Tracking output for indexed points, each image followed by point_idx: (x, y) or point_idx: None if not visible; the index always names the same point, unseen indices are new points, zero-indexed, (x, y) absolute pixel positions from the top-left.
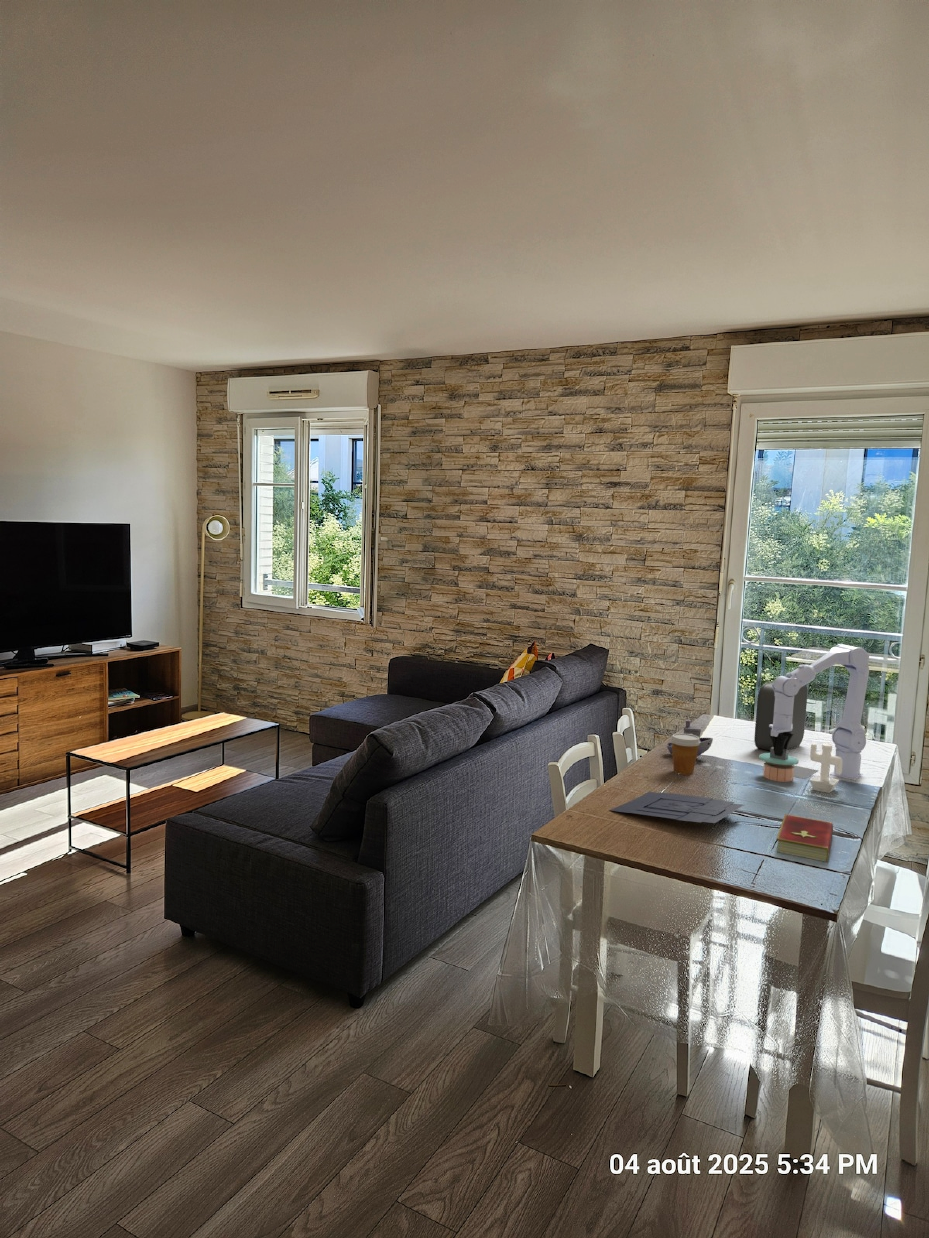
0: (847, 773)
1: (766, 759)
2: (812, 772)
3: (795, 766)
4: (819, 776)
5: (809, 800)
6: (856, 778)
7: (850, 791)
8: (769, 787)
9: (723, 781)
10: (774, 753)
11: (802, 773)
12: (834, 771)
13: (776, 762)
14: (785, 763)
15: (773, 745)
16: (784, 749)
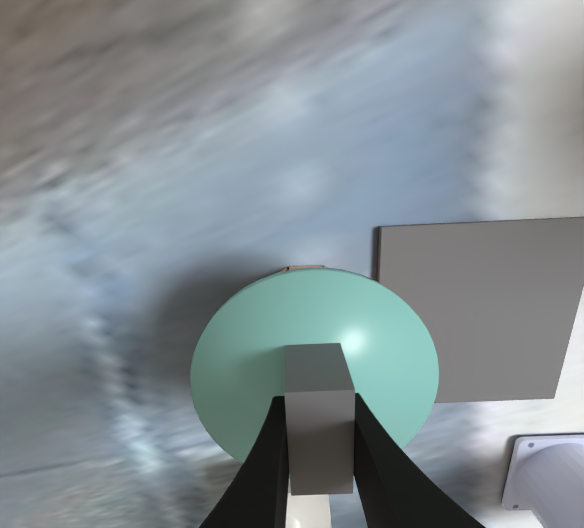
0: (528, 505)
1: (203, 354)
2: (500, 392)
3: (559, 312)
4: (315, 506)
5: (137, 483)
6: (522, 509)
7: (354, 525)
8: (151, 349)
9: (34, 173)
10: (271, 402)
11: (452, 372)
12: (550, 456)
13: (198, 414)
14: (227, 451)
15: (246, 459)
16: (340, 471)
